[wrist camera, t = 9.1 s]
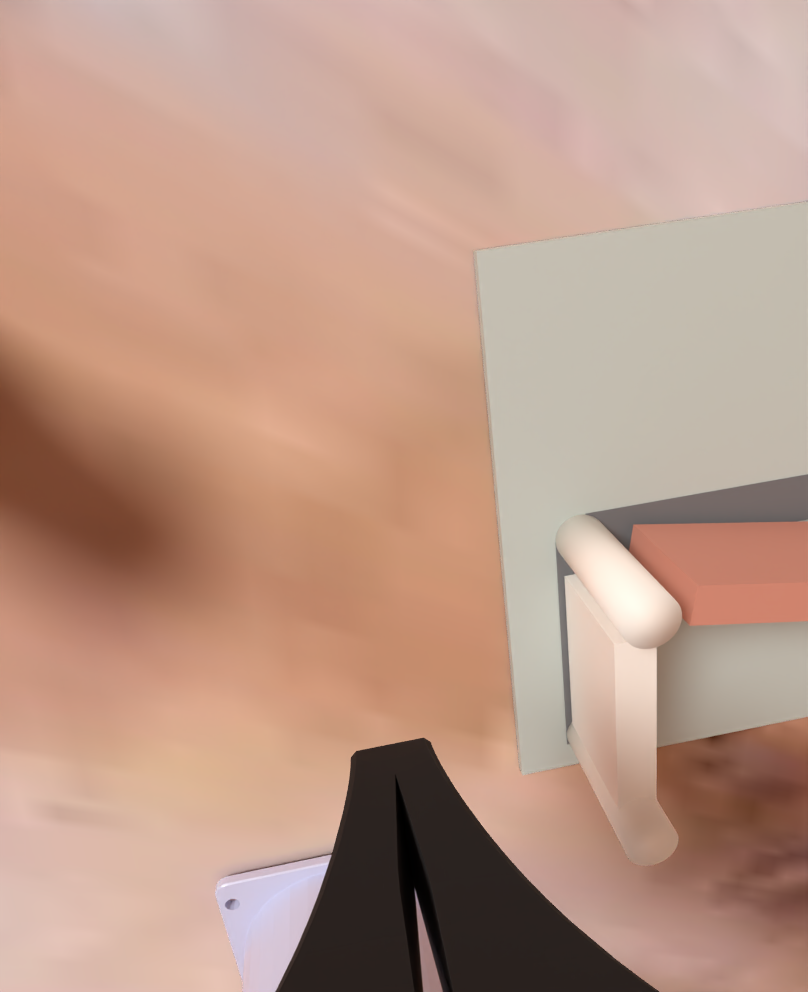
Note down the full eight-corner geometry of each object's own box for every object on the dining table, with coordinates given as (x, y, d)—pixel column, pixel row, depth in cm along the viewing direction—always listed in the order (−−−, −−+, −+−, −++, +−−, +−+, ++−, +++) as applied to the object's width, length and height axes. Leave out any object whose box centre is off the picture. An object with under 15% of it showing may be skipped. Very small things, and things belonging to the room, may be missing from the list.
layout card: (903, 689, 28) (912, 696, 28) (519, 767, 27) (522, 775, 27) (983, 175, 21) (996, 174, 21) (473, 250, 20) (477, 251, 20)
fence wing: (626, 565, 24) (703, 649, 19) (634, 518, 23) (715, 593, 18) (849, 559, 25) (971, 637, 20) (862, 514, 24) (991, 584, 20)
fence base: (606, 736, 27) (678, 859, 22) (563, 745, 27) (626, 871, 22) (599, 505, 24) (682, 588, 18) (549, 514, 23) (620, 600, 18)
